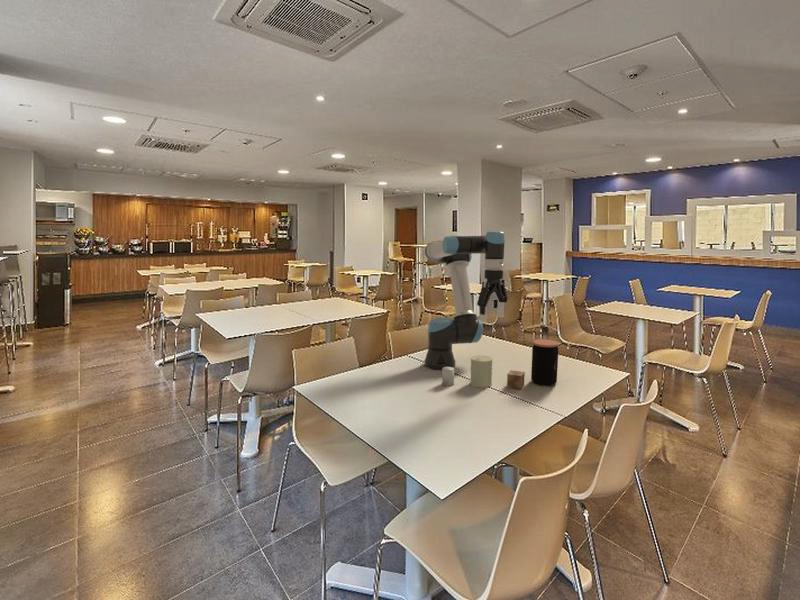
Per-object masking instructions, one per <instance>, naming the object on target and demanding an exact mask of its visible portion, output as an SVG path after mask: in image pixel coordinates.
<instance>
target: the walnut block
mask: <svg viewBox="0 0 800 600" xmlns="http://www.w3.org/2000/svg"><path fill="white" fill-rule="evenodd" d="M525 374H526V373H525V371H521V370H512V369H510V370H509V371H508V373H507V378H506V379H507V381H506V388H507V389H514V390H519V391H520V390H521V391H522V390H523V388H524V387H525V377H526V376H525Z"/></svg>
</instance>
